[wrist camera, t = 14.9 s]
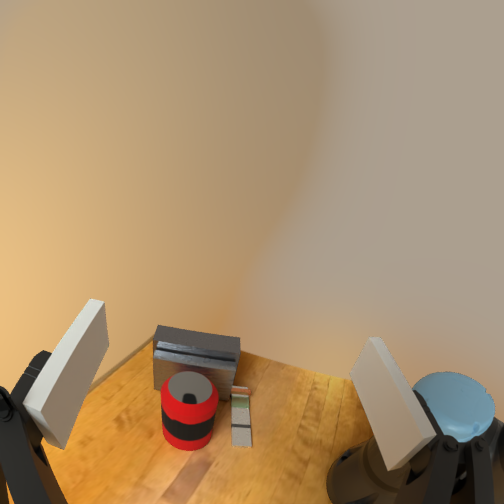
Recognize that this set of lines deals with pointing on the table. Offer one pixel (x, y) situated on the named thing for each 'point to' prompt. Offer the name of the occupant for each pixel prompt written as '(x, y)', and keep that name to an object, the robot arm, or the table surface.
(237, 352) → the gauge bed
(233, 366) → the grey block
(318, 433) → the table surface
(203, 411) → the soda can
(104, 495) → the table surface
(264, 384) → the table surface
